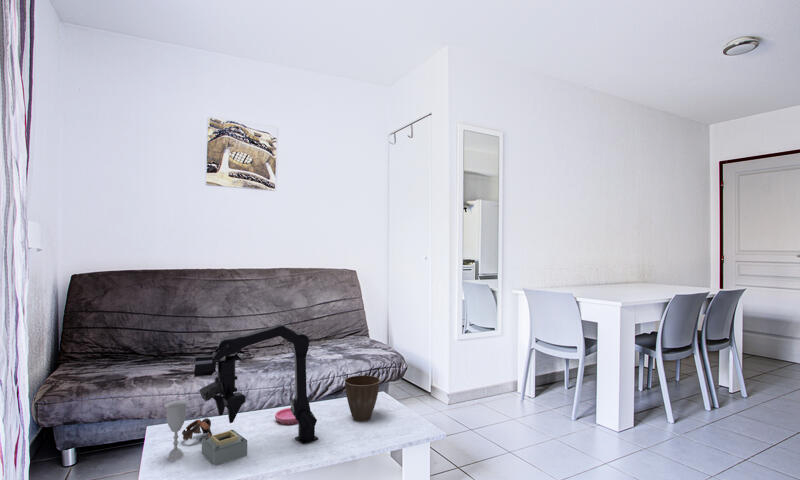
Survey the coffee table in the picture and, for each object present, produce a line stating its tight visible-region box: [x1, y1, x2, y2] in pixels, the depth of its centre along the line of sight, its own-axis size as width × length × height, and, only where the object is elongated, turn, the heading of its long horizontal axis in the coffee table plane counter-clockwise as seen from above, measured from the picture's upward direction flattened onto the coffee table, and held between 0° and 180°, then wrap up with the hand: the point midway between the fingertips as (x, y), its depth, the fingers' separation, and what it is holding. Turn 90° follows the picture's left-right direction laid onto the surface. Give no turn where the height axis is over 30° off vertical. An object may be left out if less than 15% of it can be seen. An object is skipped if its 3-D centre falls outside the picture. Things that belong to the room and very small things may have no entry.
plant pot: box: [344, 374, 381, 422], centre depth 181 cm, size 15×15×16 cm
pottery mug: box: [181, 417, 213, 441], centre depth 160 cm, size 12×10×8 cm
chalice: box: [164, 399, 189, 462], centre depth 146 cm, size 7×7×18 cm
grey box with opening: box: [201, 429, 248, 467], centre depth 148 cm, size 12×11×6 cm
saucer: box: [274, 407, 299, 425], centre depth 178 cm, size 12×12×3 cm
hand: (225, 418), depth 148 cm, fingers open, 9 cm apart
